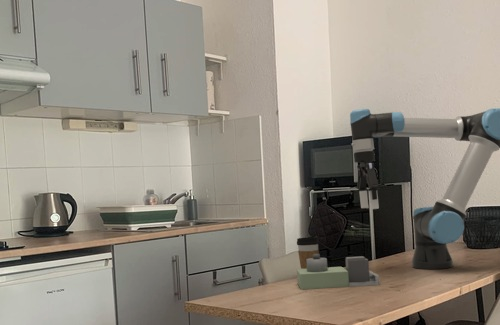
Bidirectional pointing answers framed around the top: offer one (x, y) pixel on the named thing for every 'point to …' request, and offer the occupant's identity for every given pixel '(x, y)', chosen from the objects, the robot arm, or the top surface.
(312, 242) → the coffee cup
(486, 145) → the robot arm
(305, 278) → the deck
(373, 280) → the chute bracket
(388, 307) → the top surface
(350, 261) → the grey block
